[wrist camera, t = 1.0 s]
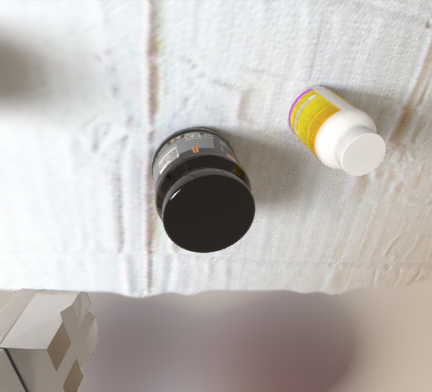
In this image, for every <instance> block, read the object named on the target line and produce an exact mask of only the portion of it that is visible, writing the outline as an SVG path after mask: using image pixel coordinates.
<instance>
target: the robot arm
mask: <svg viewBox="0 0 432 392" xmlns="http://www.w3.org/2000/svg"><path fill="white" fill-rule="evenodd" d="M90 305H91V302H90V299H89V297H88V294H87V293H85V292H81V291H64V290H46V289H42V290H39V289H21V290H19V291H17V292H15V294H14V295H13V296H12V297H11V299H10V300H9V301H8V303H7V304H6V305H5V306H4V308H3V309H2V310H1V312H0V392H77V390H78V388H79V385H80V383H81V381H82V378H83V374H82V371H81V367H82V366H83V365H84V364H86V363H87V362H88V361H89V360H91V358H92V356H93V353H94V351H95V348H96V344H97V338H98V325H97V321H96V318H95V317H94V316H93V315H92V314H91V313H90V312H88V309H89V307H90Z"/></svg>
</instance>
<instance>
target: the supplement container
mask: <svg viewBox="0 0 432 392" xmlns="http://www.w3.org/2000/svg"><path fill="white" fill-rule="evenodd" d="M152 176H153V180H154V187H155V205H156V209H157V213H158V215H159V217H160V219H161V220H162V222H163V226H164V229H165V231H166V234H167V235H168V237H169V238H170V239H171V240H172V241H173V242H174V243H175V244H176V245H178V246H179V247H181V248H183V249H185V250H188V251H192V252H197V253H209V252H216V251H219V250H222V249H225V248H227V247H229V246H231V245H233V244H234V243H236V242H237V241H239V240H240V239H241V238H242V237H243V236H244V235H245V234H246V233H247V231H248V230H249V228H250V227H251V225H252V222H253V220H254V216H255V202H254V198H253V196H252V194H251V184H250V181H249V178H248V176H247V174H246V172H245V171H244V169H243V168H242V167H241V166H240V164H239V162H238V160H237V158H236V156H235V154H234V152H233V150H232V148H231V146H230V145H229V143H228V142H227V141H226V140H225V139H224V138H223V137H222V136H221V135H219V134H218V133H216V132H214V131H211V130H208V129H204V128H187V129H183V130H180V131H178V132H175V133H174V134H172V135H170V136H169V137H168V138H166V139H165V140H164V141H163V142H162V143H161V145H160V146H159V147H158V149H157V151H156V153H155V155H154V158H153V162H152Z"/></svg>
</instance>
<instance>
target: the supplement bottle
mask: <svg viewBox="0 0 432 392" xmlns="http://www.w3.org/2000/svg"><path fill="white" fill-rule="evenodd" d="M287 122H288V125H289V127H290V129H291V130H292V132H293V133H294V134H295V135H296V136H297V137H298V138H299V139H300V140H301V141H302V142H303V143H304V144H305V145H306V146H307V147H308V148H309V149H310V150H311V151H312V152H313V153H314V154H315V155H316V156H317V158H318V159H319V160H320V161H321V162H322V163H323V164H325V165H326V166H328V167H330V168H334V169H343V170H344V171H345V172H346V173H347V174H349V175H352V176H362V175H365V174H368V173H370V172H371V171H373V170H374V169H375V168H377V167H378V166H379V164H380V163H381V162H382V160H383V158H384V156H385V153H386V144H385V141H384V139H383V138H382V137H381V136H380V135H379V134H378V133H377V128H376V125H375V123H374V121H373V119H372V118H371V117H370V116H369V115H368V114H367V113H365V112H364V111H362V110H361V109H359V108H357V107H356V106H354V105H353V104H351V103H350V102H348V101H347V100H345V99H344V98H342V97H341V96H339V95H338V94H336V93H335V92H333V91H332V90H330V89H328V88H326V87H323V86H311V87H308V88H305V89H303V90H302V91H300V92H299V93H298V94H297V95H296V96H295V97H294V98H293V100H292V101H291V103H290V105H289V107H288V111H287Z"/></svg>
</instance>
